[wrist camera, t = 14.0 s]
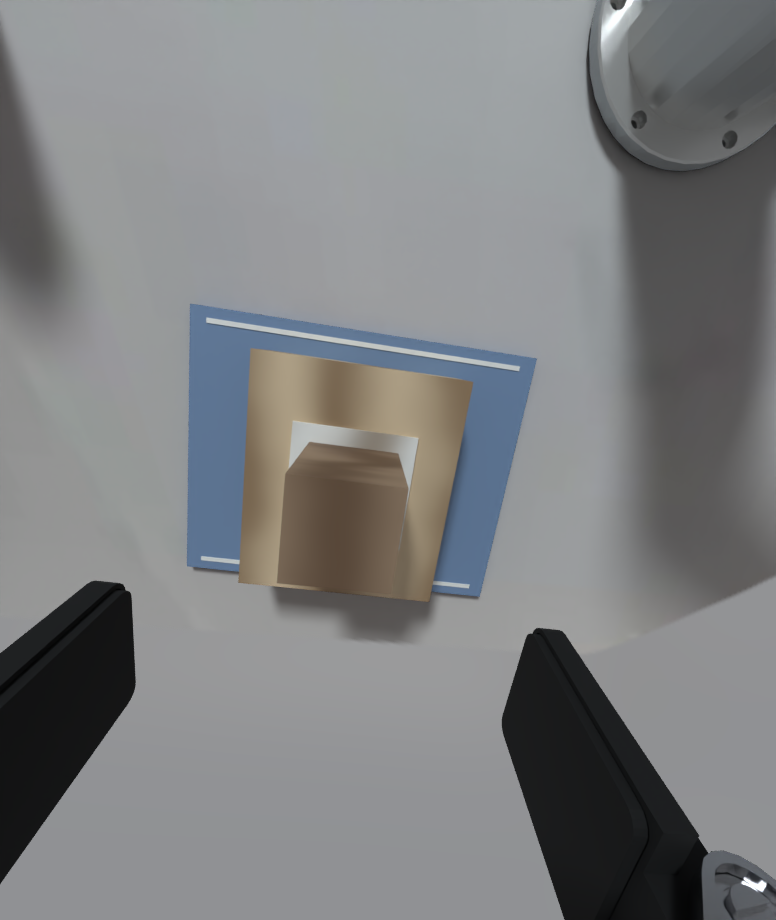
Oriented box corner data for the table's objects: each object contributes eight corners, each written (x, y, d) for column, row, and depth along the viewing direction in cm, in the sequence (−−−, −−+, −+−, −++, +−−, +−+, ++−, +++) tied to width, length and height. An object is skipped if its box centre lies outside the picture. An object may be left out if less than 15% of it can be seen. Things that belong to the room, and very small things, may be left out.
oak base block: (454, 377, 25) (474, 382, 20) (419, 562, 28) (429, 604, 24) (273, 350, 24) (249, 347, 19) (260, 545, 27) (237, 584, 23)
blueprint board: (532, 358, 25) (537, 358, 24) (477, 591, 29) (479, 597, 29) (194, 305, 23) (189, 303, 22) (190, 561, 28) (186, 566, 27)
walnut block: (398, 453, 21) (408, 488, 15) (385, 533, 22) (391, 594, 16) (309, 441, 21) (285, 473, 15) (301, 524, 22) (276, 583, 16)
